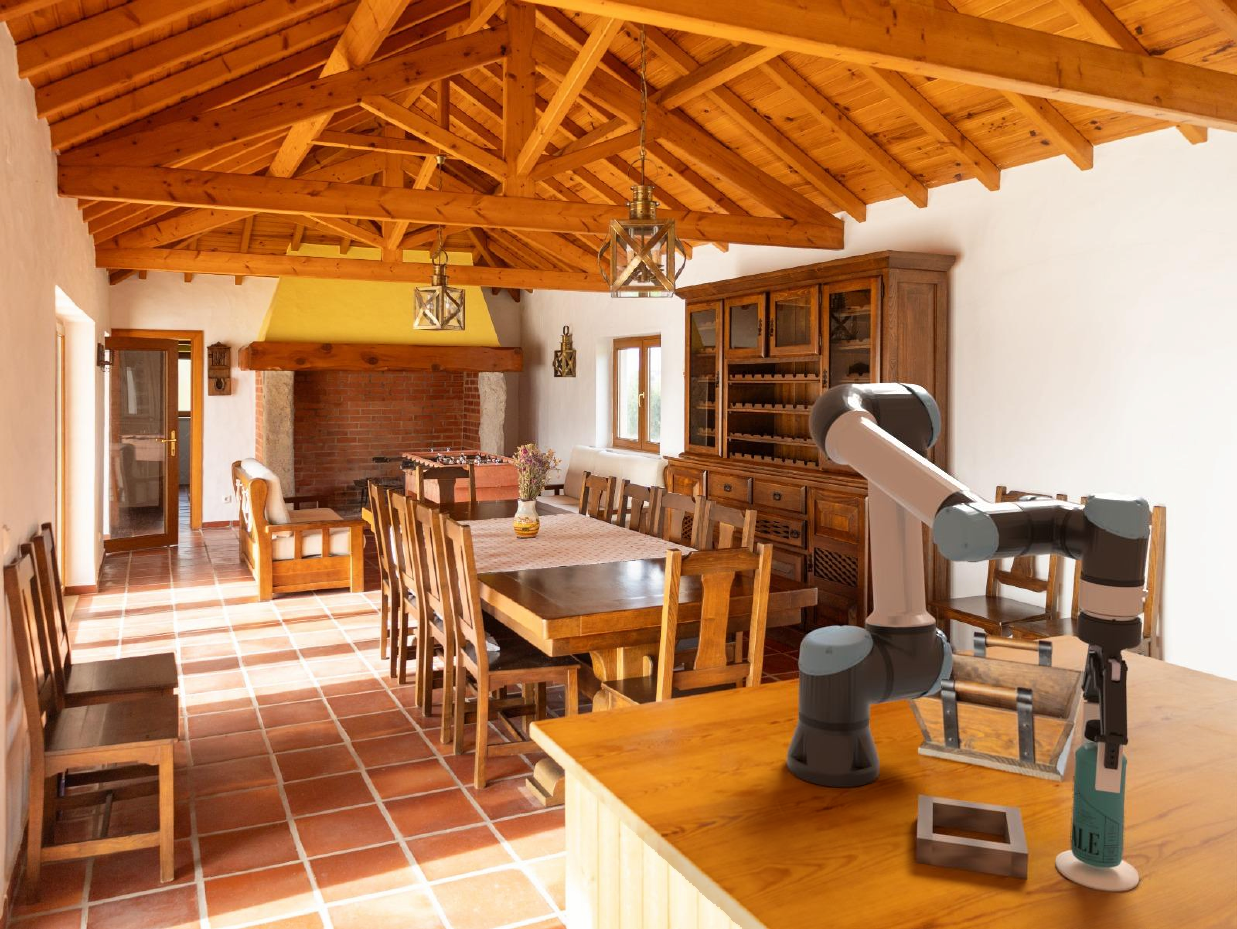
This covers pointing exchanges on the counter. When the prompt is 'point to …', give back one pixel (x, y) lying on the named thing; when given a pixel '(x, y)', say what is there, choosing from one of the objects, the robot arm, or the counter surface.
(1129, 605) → the robot arm
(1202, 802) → the counter surface
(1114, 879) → the coaster
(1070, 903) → the counter surface
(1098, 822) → the beverage bottle
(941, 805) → the holder
